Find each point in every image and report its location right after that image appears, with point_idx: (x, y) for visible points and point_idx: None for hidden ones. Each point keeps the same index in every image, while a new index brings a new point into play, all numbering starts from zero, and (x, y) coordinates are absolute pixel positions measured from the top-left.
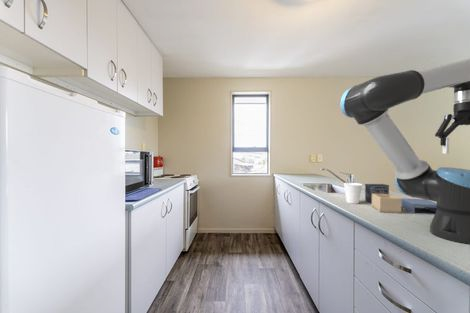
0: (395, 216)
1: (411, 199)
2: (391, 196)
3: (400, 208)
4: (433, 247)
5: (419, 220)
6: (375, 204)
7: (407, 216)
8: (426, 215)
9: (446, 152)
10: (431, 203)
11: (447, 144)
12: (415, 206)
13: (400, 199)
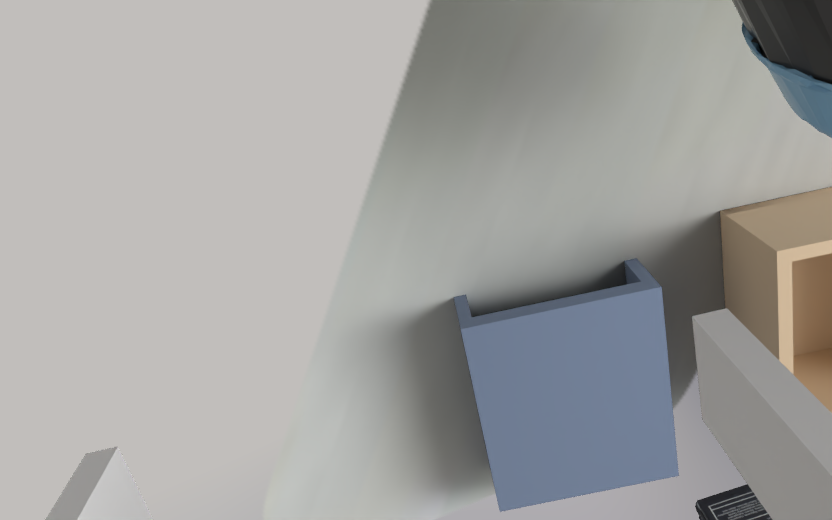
0: None
1: (605, 463)
2: None
3: (744, 221)
4: None
5: (668, 46)
6: None
7: (708, 135)
8: (565, 230)
9: (737, 319)
10: (514, 368)
11: (815, 411)
12: (636, 282)
13: (782, 246)
